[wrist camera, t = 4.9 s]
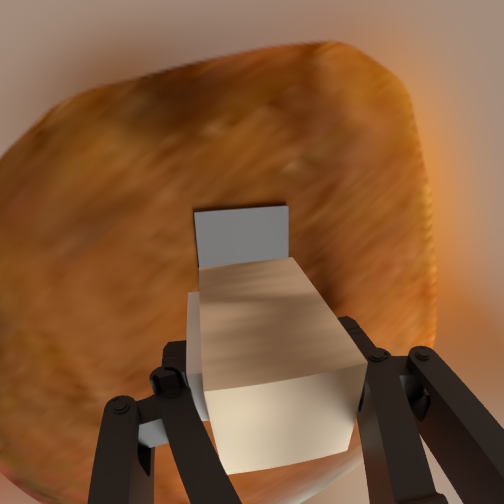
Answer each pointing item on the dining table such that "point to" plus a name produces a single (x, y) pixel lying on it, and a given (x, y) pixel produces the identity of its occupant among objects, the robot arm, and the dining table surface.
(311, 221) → the dining table surface
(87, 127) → the dining table surface
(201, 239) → the pad
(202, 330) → the block
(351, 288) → the dining table surface
